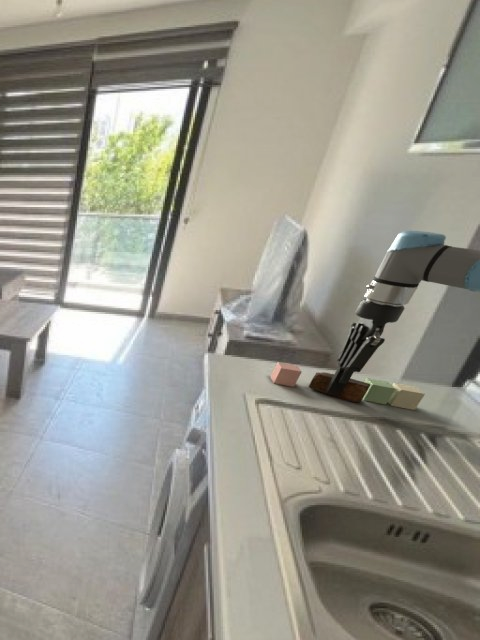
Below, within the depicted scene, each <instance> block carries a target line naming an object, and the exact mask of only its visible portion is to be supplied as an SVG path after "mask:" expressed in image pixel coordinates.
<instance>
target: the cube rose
mask: <svg viewBox="0 0 480 640" xmlns="http://www.w3.org/2000/svg"><path fill="white" fill-rule="evenodd" d="M272 370H273V371H272V373H271V375H270V379H271V380H272V383H273V384H277V385H282V386H287V387H292V388H294V387H295V386H296V385H297V383H298V380H299V378H300V376H301V375H302V372H303V371H302V370H301V369H300V367H299V366H298V365H295V364H290V363H285V362H277V363H276V364H275V366H274V369H272Z"/></svg>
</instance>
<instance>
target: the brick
mask: <svg viewBox="0 0 480 640" xmlns="http://www.w3.org/2000/svg"><path fill="white" fill-rule="evenodd" d="M334 374H335V373H330V372H323V371H322V372H315V374H314V376H313V377H312V379H311V381H310V383H309V384H308V388H309V389H311V390H313V391H316V392H318V393H322V394H325V395H328V396H332V397H335V398H338V399H342V400H346V401H348V402H352V403H355V404H360V403H361V402H362V401H363V397H364V395H365V394H366V392H367V390H368V389H369V387H370V384H369V383H366V382H364V381H362V380H357V379H354V378H352V377H351V378H350V379H349V381H348V383H347V385H346V386H345V388H344V390H343V392H342V393H341V395H339V394H334V393H328V392H327V391H326V389H327V387H328V385H329V383H330V381H331V380H332V378H333V376H334Z"/></svg>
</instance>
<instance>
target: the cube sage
mask: <svg viewBox="0 0 480 640" xmlns="http://www.w3.org/2000/svg"><path fill="white" fill-rule="evenodd" d="M363 382H366V383H369V384H370V387H369V389H368V390H367V392H366V394H365V395H364V397H363V399H362V401H365V402H370V403H376V404H382V405H387V404H388V400H389V399H390V397H391V396H392V394H393V392H394V391H395V388H394V387H393V386H392V385H393V384H391V383H390V382H389V381H386V380H381V379H375V378H368V377H366V378H365V379H364V380H363Z"/></svg>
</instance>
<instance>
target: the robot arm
mask: <svg viewBox="0 0 480 640" xmlns="http://www.w3.org/2000/svg"><path fill="white" fill-rule="evenodd" d="M446 240H447V236H446V235H445V234H442V233H438V232H437V233H436V232H430V231H420V230H403V231H401V232H399V233H398V234H397V236H396V237H395V238H394V240H393V242H392V243H391V245H390V247H389V249H387V251H386V253H385V255H384V257H383V260H382V261H381V263H380V264H379V267H378V269H377V272H376V273H375V275H374V276H373V278H372V280H371V282H370V284H367V285H366V291H365V293H364V295H363V296H364V298H363V299H361V300H360V302H359V304H358V306H357V308H356V310H355V312H354V314H355V315H356V316H357V317H358V318H359V320H358V322H351V324H350V325H349V330H348V333H347V334H346V335H347V336H346V338H345V340H344V343H343V345H342V347H341V350H340V352H339V354H338V357H337V359H336V361H337V362H338V367H337V368H336V370H335V373H333V374H334V376H333V378H332V380H331V381H330V383H329V385H328V387H327V389H326V391H327V392H328V393H334V394H339V395H341V393H342V392H343V390H344V388H345V386H346V385H347V383H348V381H349V379H350V378H351V379H352V376H353V374H354V373H360V372H361V371H362V370H363V368H364V367H365V366H366V364H367V363H368V362H369V361H370V359H371V358H372V357H373V355H374V354H375V353H376V351H377V350H378V349H379V347H381V346H382V345H383V344H384V343H385V341H386V339H385V338H384V337H381V336H382V335H383V333H384V331H385V330H384V329H385V327H386V324H388V323H389V324H392V323H396V322H398V321H399V319H400V317H401V316H402V315H403V312H404V311H405V309H406V308H405V306H406V305H408V304H409V303H410V301H411V299H412V298H413V296H414V295H415V293H416V291H417V289H418V287H419V286H420V283H421V282H422V281H423V282H426V283H432V284H433V283H434V284H439V285H443V286H447V287H448V286H449V287H454V288H458V289H464V290H468V291H470V292H474V293H475V292H480V249H473V248H464V247H458V246H452V245H448V244H445V241H446Z"/></svg>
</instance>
